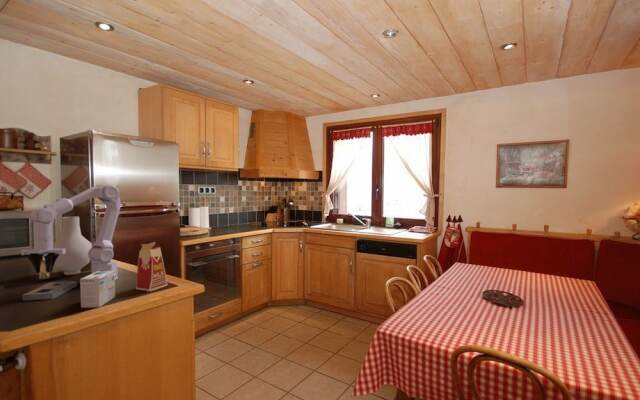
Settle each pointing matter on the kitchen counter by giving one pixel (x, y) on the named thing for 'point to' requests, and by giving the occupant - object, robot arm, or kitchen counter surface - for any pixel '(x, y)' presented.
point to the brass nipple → (43, 270)
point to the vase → (72, 247)
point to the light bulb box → (97, 288)
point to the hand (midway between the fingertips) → (44, 272)
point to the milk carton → (150, 268)
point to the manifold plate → (49, 290)
